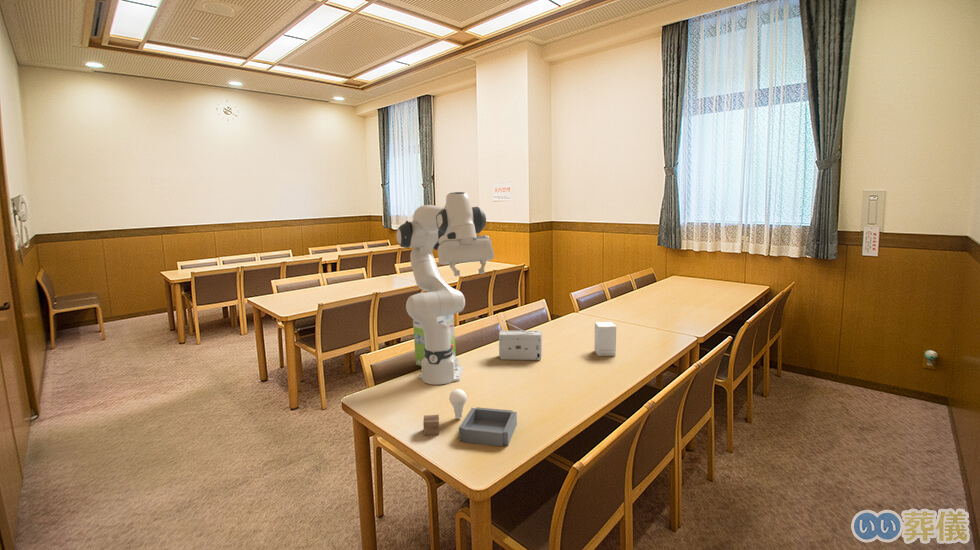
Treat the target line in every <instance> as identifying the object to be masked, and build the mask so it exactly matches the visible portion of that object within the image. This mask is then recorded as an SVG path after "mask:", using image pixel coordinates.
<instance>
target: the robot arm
mask: <svg viewBox="0 0 980 550" xmlns="http://www.w3.org/2000/svg"><path fill="white" fill-rule="evenodd" d="M412 216H413V217H412V221H409V220H406V221H405V223H403V224H400V226H398V228H397V230H396V241H397V244H398V245H399V246H400V248H403V249H404V248H405V249H409V248H410V249H411V248H413V249H412V250H411V252H410V254H409V255H410V257H409V258H410V266H411V269H412V273H413V277H414V280H415V284H416V285H417V287H418V288H419V289H421V290H422V291H424V292H417V293H415V294H413V295H410V296H409V297H408V298H407V299H406V304H405V310H406V312H407V314H408V316H409V317H410V318H412V320H413V319H415V320H416V321H417V322H418V323H419V324H420V325H421V327H422V329H423V332H424V339H425V348H424V356H425V358H424V359H423V360H422V366H421V373H420V374H418V378H419V379H420V380H422V381H423V382H424V383H426V384H429V385H434V386H435V385H439V386H440V385H446V384H449V383H453V382H458V381H461V378H462V375H463V371H464V367H463V366H462V365H459V358H458V357H457V355H456V356H454V355H453V352H452V349H453V344H451V342H450V330H449V328H448V327H447V326H445V325H443V324H440V323H437V317H440V316H447V315H453V314H454V315H455V314H458V313H461V312H463V311H464V308H465V307H466V298H465V295H464V294H463V292H462V291H460V290H458V289H456V288H454V287H452V286H451V285H449V284H448V283H447V282H446V281H445V279H444V278H443V277H442V275H441V273H440V269H439V267H438V264H437V261H436V260H435V256H434V251H437V258H438V259H437V260H438V263H439V264H440V265H449V268H450V269H451V271H452V272H453V276H454V277H459V276H461V273H460V270H459V269H457V268H456V266H457V265H456V264H464V263H477V262H479V264H480V268H478V275H482V274H485V267H486V264H487V262H488V261H489V262H490V261H491V260H494V258H495V252H494V248H493V245H492V239H491V237H489V236H488V235H487V234H484V235H483V234H482V235H480V233H481V232H482V231H483V229H484V228H485V227H486V224H487V217H486V214H485V213H484V211H483V210H482V209H481V208H480V207H479V206H472V204H471V200H470V197H469V194H468V193H466V192H464V191H455V192H450V193H448V194H446V196H445V205H444V206H443V207H442V206H440V205H434V204H424V205H421V206H419V207H417V208H416V209H415V210H414V212H413V215H412ZM433 250H434V251H433Z"/></svg>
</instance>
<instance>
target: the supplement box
mask: <svg viewBox="0 0 980 550" xmlns="http://www.w3.org/2000/svg"><path fill="white" fill-rule="evenodd" d="M593 347H594V348H593V349H594V350H595V351H594V352H595V354H596V355H597V356H598V357H609V356H610V357H614V356H615V357H616V354H617V351H616V350H617V326H616V325H615V323H613V322H612V321H602V322H601V321H596V322H594V346H593Z"/></svg>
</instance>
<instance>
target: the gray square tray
mask: <svg viewBox="0 0 980 550" xmlns="http://www.w3.org/2000/svg"><path fill="white" fill-rule="evenodd" d="M517 425H518V412H517V411H513V410H510V409H499V408H488V407H478V406H477V407H471V408H470V409H469V412H468V413H467V415H466V416H465V417H464V418H463V420H462V422H461V424H460V425H459V427H458V435H459V436H458V438H459V441H463V443H467V444H468V443H469V444H476V445H487V446H492V447H493V446H495V447H503V446H507V447H508V446H509V444H510V443H511V440H512V437H513V435H514V432H515V429H516V428H517Z"/></svg>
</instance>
